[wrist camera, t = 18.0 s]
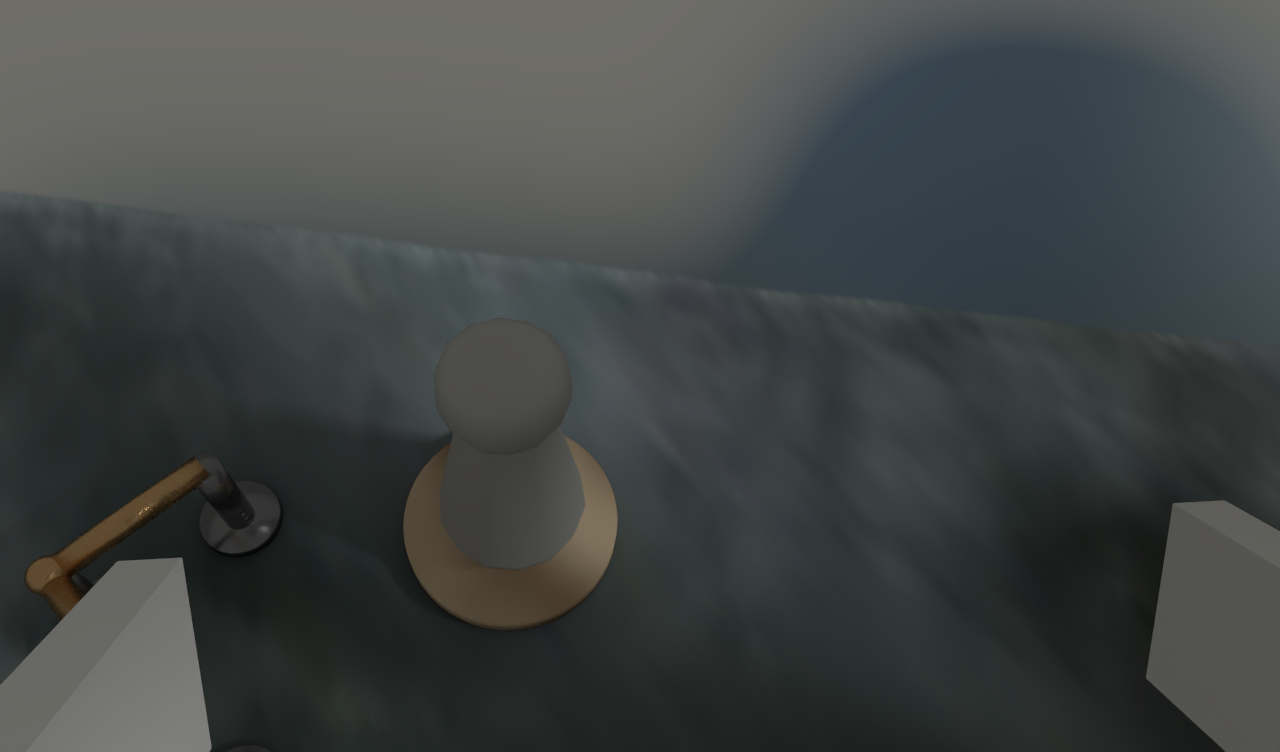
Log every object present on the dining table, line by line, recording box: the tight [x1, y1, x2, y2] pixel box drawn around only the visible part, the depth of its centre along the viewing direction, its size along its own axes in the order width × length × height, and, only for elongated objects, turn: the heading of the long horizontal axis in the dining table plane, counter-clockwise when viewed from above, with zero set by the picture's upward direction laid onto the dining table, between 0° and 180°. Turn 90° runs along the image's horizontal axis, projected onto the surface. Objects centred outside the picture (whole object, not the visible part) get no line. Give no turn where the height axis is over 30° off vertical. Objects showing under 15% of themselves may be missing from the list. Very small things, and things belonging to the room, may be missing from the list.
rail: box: [24, 452, 283, 752], centre depth 34 cm, size 9×12×6 cm
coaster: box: [403, 436, 617, 631], centre depth 40 cm, size 9×9×1 cm
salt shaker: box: [435, 318, 586, 570], centre depth 34 cm, size 6×6×13 cm
